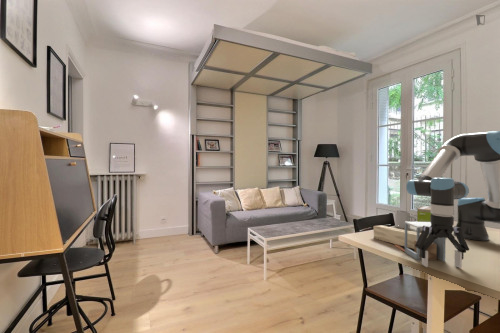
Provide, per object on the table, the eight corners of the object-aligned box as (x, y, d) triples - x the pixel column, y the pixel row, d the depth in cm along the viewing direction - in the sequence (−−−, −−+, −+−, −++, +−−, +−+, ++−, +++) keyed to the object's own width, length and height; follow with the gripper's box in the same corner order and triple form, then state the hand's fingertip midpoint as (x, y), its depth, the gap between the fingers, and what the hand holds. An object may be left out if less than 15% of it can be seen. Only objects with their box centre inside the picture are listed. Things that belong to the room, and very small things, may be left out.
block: (427, 255, 112) (427, 240, 112) (436, 260, 106) (436, 244, 106) (414, 254, 112) (414, 239, 112) (422, 259, 106) (422, 243, 106)
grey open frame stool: (417, 246, 123) (418, 217, 123) (445, 261, 104) (445, 227, 104) (394, 246, 124) (394, 217, 124) (417, 260, 105) (417, 226, 105)
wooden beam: (381, 237, 138) (381, 225, 139) (429, 249, 114) (428, 234, 115) (373, 238, 136) (373, 226, 136) (420, 250, 112) (420, 235, 112)
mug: (393, 227, 161) (393, 211, 161) (397, 225, 167) (397, 209, 167) (414, 231, 152) (414, 214, 152) (417, 229, 158) (417, 212, 158)
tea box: (423, 226, 163) (423, 205, 163) (442, 229, 156) (442, 207, 156) (416, 230, 154) (417, 207, 154) (436, 234, 146) (436, 210, 146)
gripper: (465, 213, 101) (465, 263, 101) (405, 212, 103) (405, 261, 103) (481, 217, 93) (481, 271, 94) (416, 216, 95) (416, 269, 95)
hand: (441, 266), depth 98 cm, fingers open, 12 cm apart
